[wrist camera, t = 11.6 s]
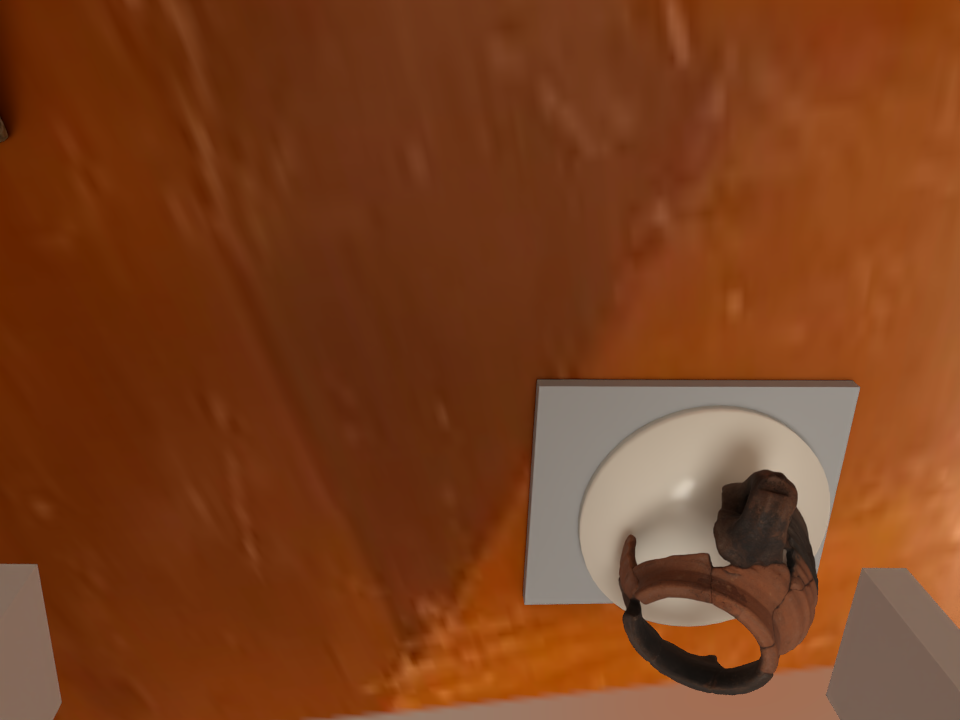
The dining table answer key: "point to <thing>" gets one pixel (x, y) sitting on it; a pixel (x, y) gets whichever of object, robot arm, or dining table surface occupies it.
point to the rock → (3, 132)
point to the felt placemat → (618, 413)
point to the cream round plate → (688, 495)
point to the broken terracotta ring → (732, 585)
